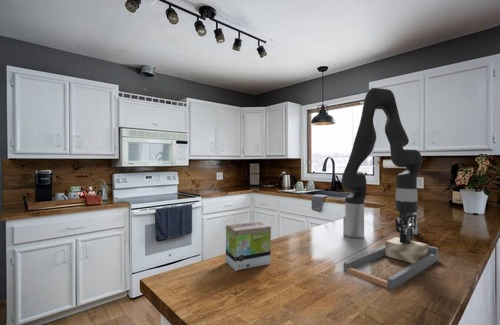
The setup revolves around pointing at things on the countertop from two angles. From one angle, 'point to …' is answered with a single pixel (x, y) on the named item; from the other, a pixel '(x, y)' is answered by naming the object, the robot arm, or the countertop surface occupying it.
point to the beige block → (406, 249)
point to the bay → (396, 278)
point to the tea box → (248, 245)
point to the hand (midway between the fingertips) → (406, 241)
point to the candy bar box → (416, 223)
